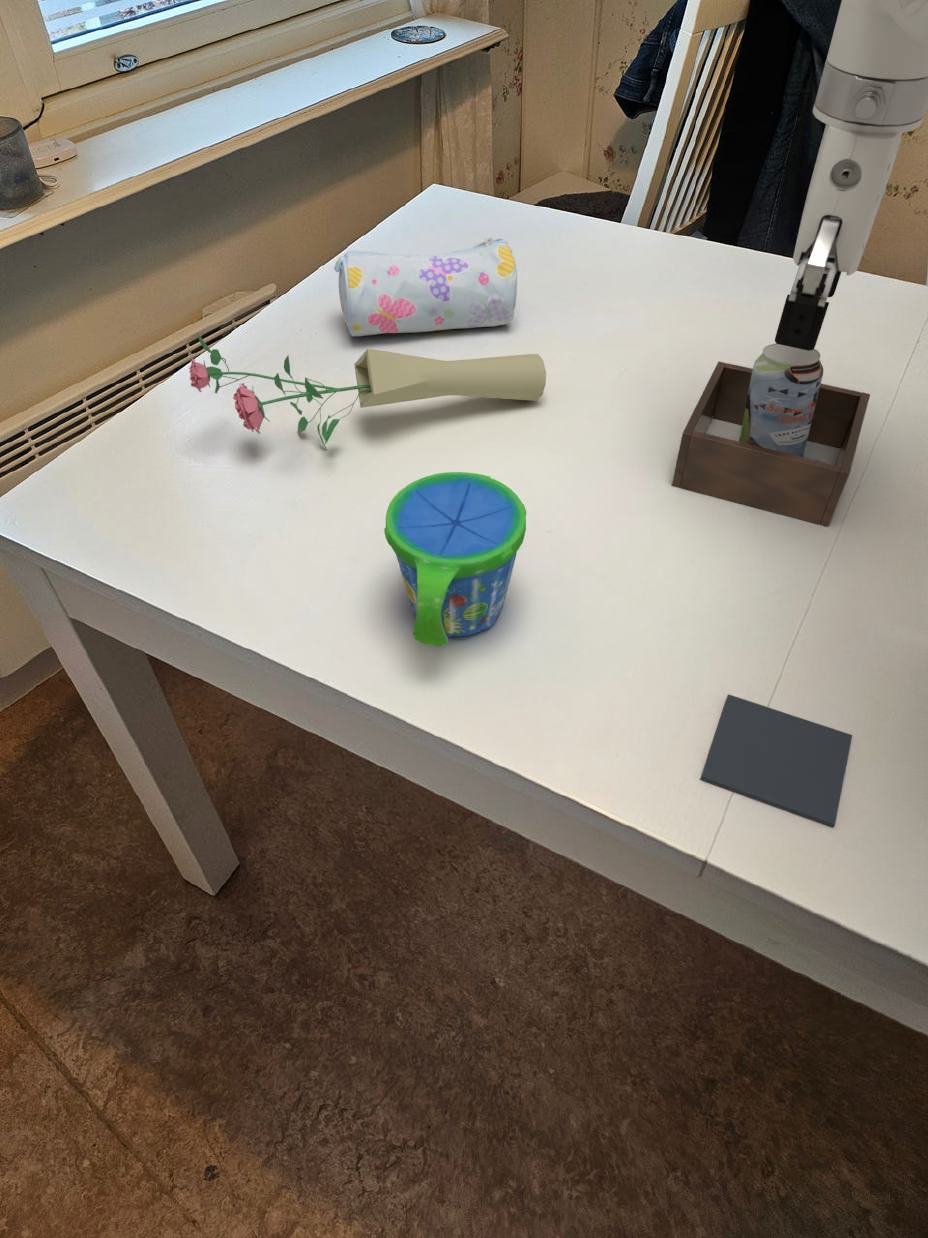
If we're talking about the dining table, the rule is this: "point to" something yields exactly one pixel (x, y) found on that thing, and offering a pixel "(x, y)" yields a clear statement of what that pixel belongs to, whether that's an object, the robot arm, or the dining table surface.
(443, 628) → the snack cup
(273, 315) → the dining table surface
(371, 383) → the flower vase
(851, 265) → the robot arm
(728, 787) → the mat
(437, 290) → the pencil case
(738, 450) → the open wooden box
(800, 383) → the beverage can
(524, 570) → the dining table surface
